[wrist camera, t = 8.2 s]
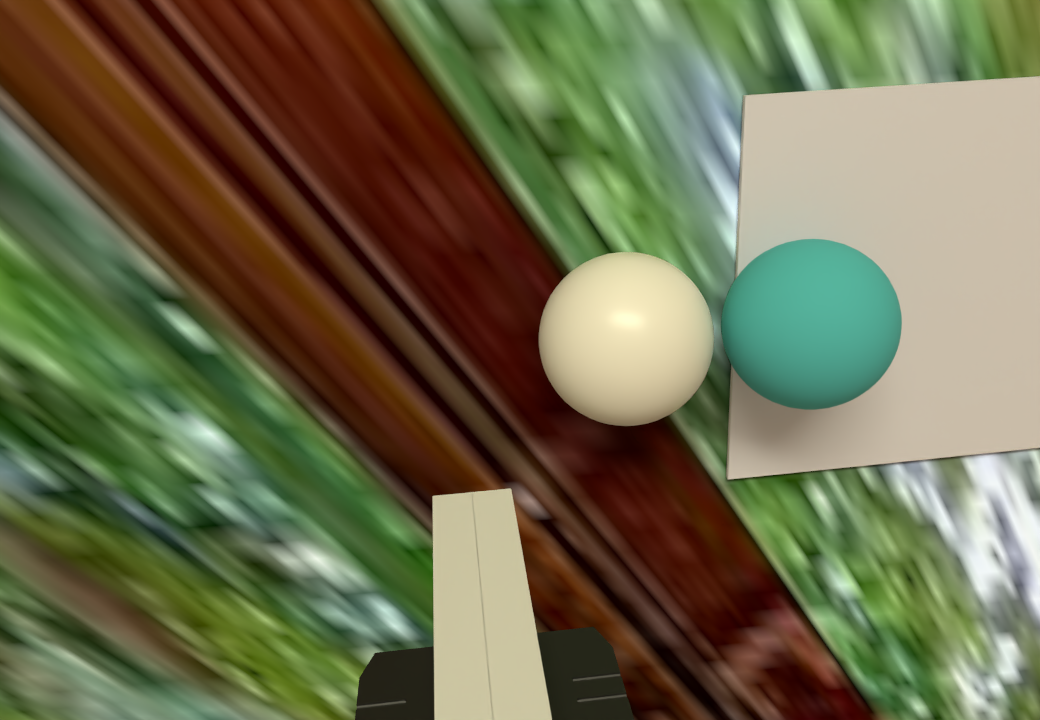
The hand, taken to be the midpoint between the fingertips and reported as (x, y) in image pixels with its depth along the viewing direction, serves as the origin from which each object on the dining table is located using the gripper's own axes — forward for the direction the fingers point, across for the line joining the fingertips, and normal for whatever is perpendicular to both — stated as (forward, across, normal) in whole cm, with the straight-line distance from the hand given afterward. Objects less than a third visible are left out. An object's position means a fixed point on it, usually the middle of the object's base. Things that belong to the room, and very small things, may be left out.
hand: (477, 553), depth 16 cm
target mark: (+14, +17, 0) cm, 22 cm away
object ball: (+11, +11, 0) cm, 16 cm away
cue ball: (+11, +5, 0) cm, 12 cm away
